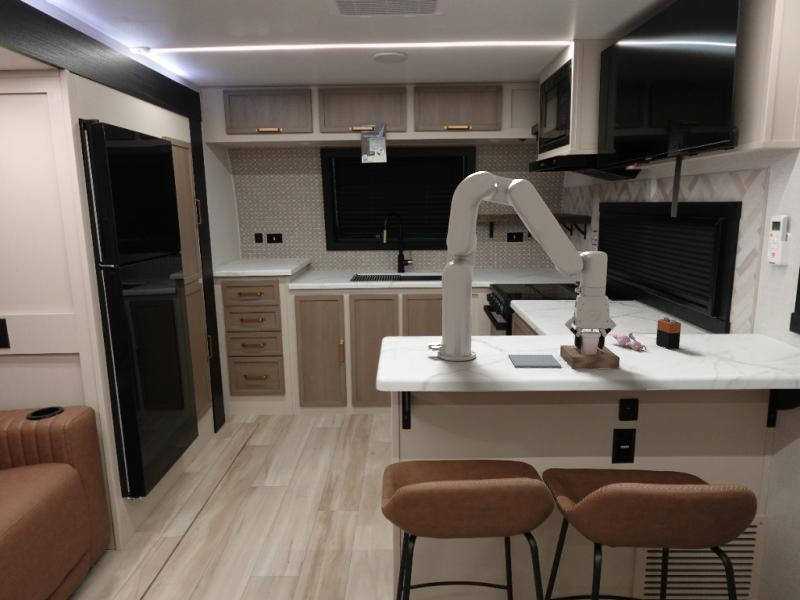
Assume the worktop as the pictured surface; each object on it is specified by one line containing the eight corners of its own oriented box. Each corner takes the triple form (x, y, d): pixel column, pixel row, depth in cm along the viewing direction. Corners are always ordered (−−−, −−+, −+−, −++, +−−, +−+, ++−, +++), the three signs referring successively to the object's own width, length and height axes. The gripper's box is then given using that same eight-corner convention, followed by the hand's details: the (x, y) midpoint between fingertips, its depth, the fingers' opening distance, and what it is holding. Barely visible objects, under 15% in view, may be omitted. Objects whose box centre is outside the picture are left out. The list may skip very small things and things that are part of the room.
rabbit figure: (649, 354, 180) (615, 337, 192) (652, 338, 178) (619, 322, 191) (635, 356, 177) (602, 339, 190) (639, 340, 175) (605, 324, 188)
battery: (665, 343, 188) (668, 316, 186) (679, 348, 181) (682, 320, 179) (655, 344, 187) (657, 316, 185) (668, 349, 180) (671, 320, 179)
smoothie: (600, 365, 163) (603, 321, 160) (578, 364, 164) (581, 320, 162) (597, 359, 169) (599, 316, 167) (576, 358, 170) (578, 316, 168)
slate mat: (514, 367, 162) (515, 365, 162) (508, 356, 173) (508, 354, 173) (561, 367, 161) (561, 365, 161) (551, 356, 173) (551, 354, 173)
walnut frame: (572, 368, 160) (572, 357, 159) (560, 355, 174) (560, 345, 173) (619, 368, 159) (619, 357, 159) (603, 355, 173) (603, 345, 173)
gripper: (567, 293, 159) (564, 351, 162) (625, 293, 159) (621, 351, 162) (560, 289, 167) (558, 345, 170) (616, 289, 166) (612, 345, 169)
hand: (589, 347), depth 166 cm, fingers closed on smoothie, 6 cm apart
